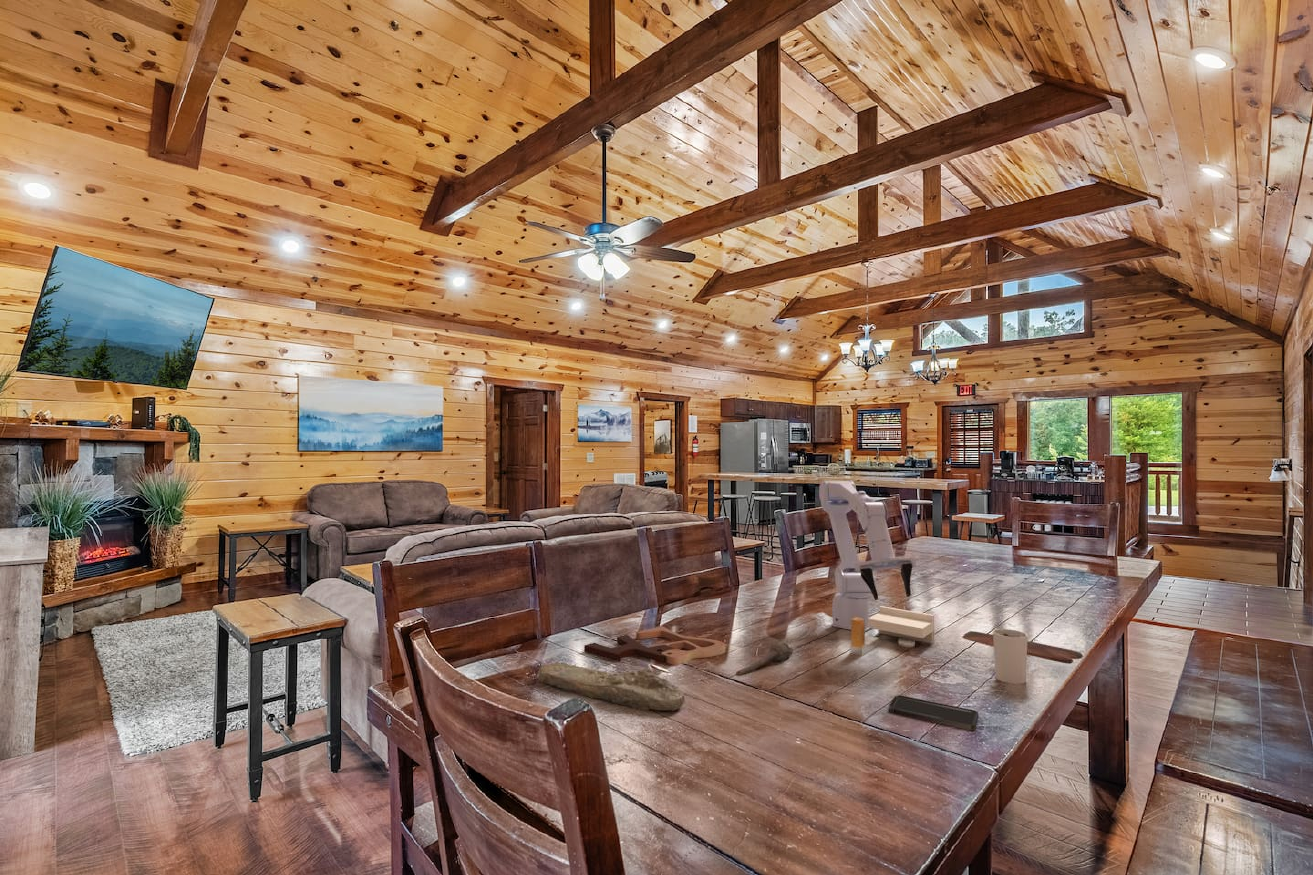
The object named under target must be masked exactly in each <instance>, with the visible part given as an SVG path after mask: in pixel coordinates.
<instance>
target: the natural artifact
mask: <svg viewBox="0 0 1313 875" xmlns="http://www.w3.org/2000/svg"><path fill="white" fill-rule="evenodd" d="M793 651H794V648H792V647H790V646H789V645H788V644H787V643H786V642H782V643H781V644H775V645H773V646H771V648H770V649H769V651H768V653H767V654H766V655H765V656H764V657H762V658H761V659H759V660H758V661H756V662H754V663H752V664H751V665H749V666H747V667H745V668H741V669H739V670H737V671H736V672H735V673H736V674H735V675H736V676H739V677H741V676H743V675H745V674H748V673H751V672H754V671H755V670H756V669H758V668H759V667H761V666H763V665H764V664H766V663H768V662H769V661H771V660H773V661H775V662H784V661H785V660H786V659H789V660H790V656H791V655H792V654H793Z"/></svg>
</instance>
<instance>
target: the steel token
mask: <svg viewBox="0 0 1313 875" xmlns="http://www.w3.org/2000/svg"><path fill="white" fill-rule="evenodd" d="M897 645H898V646H899V647H902V648H908V649H909V648H910V649H912V648H913V649H914V648H915V646H916V640H913V639H910V638H901V637H898V638H897Z"/></svg>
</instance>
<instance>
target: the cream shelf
mask: <svg viewBox="0 0 1313 875" xmlns="http://www.w3.org/2000/svg"><path fill="white" fill-rule="evenodd" d="M868 628H870V629H872V630H873V629H875V630H878V632H877V633H878V634H881V635H882V634H883V635H886V636H892V637H896V638H897V637H898V638H910V639H913V640H915V642H916V641H917V642H920V643H921V642H922V643H925V644H931V645H932V644H933V643H935V615H934V614H929V613H924V612H918V611H912V610H907V609H901V608H897V607H888V606H884V605H880V606H879V613H876V614H873V615H871V616H869V618H868Z"/></svg>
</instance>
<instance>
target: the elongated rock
mask: <svg viewBox="0 0 1313 875" xmlns="http://www.w3.org/2000/svg"><path fill="white" fill-rule="evenodd" d="M538 682H541V683H542V684H543V683H544V684H548V685H550V686H553V687H557V688H558V689H561V690H564V691H567V692H569V693H572V692H573V693H576V694H578V695H581V696H583V697H588V698H591V699H600V700H606V701H608V702H609V701H611V702H613V703H614V704H616V705H617V704H618V705H622V706H630V707H631V708H632V707H634V708H636V709H640V710H644V711H650V710H653V711H654V710H655V711H656V710H657V711H677V710H678V709H680V708H682V706H683V705H684V703H685V702H686V696H685V694H684V693H683V692H682V690H680V687H679V686H676V685H675V684H674V683H673V682H671V681H670V680H668V679H666V678H662V677H660V676H658V675H656V674H655V673H653V670H652V669H650V668H644V669H638V670H637V671H635V670H632V671H631V672H629V671H627V672H626V671H625V672H621V673H611V672H608V671H602V670H597V669H593V668H592V669H591V668H587V667H582V666H577V665H571V664H568V663H564V662H561V663H560V662H555V663H554V662H553V663H549V664H546V665H545V664H543V665H542V667H541V668H540V669H539V670H538Z"/></svg>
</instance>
